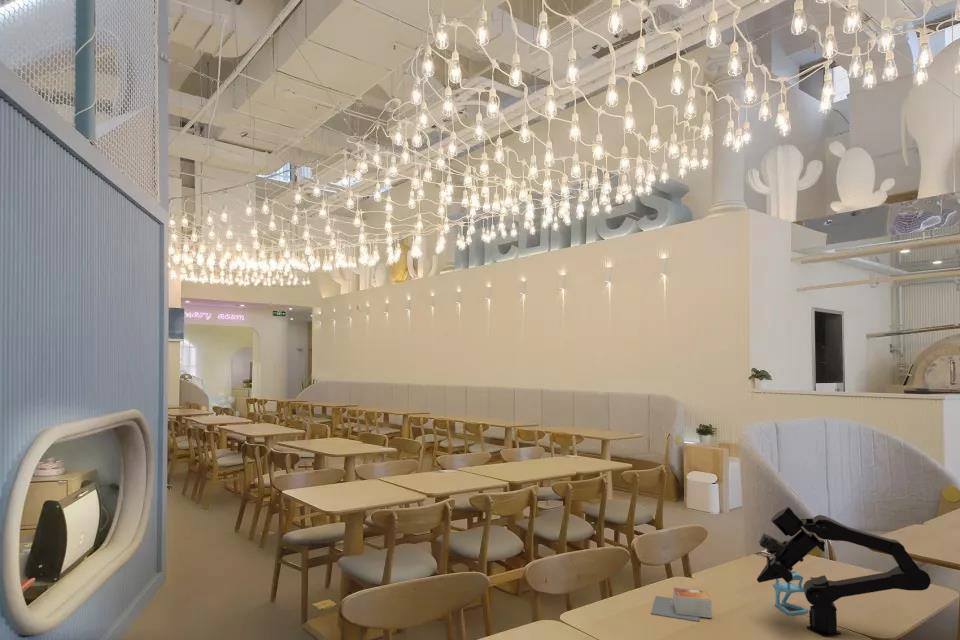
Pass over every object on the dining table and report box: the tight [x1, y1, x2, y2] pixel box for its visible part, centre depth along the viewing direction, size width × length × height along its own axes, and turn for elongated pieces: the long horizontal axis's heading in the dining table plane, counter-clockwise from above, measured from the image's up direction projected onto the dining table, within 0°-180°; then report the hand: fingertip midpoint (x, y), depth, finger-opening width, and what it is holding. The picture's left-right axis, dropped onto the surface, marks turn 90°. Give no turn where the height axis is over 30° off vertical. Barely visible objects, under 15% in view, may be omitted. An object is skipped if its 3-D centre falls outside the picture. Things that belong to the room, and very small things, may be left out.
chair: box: [772, 570, 809, 616], centre depth 198 cm, size 8×8×12 cm
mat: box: [650, 595, 701, 623], centre depth 196 cm, size 14×16×1 cm
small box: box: [672, 587, 713, 619], centre depth 193 cm, size 8×6×10 cm
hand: (757, 580), depth 188 cm, fingers closed
